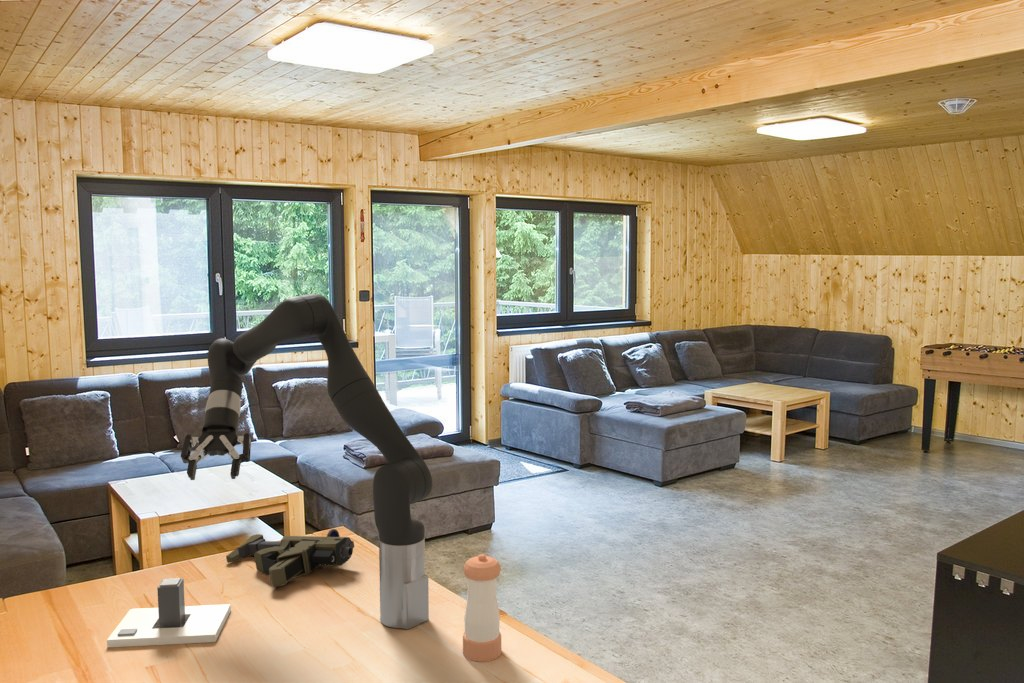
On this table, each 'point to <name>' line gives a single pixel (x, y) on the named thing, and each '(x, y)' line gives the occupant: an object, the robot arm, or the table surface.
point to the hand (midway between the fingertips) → (212, 477)
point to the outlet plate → (144, 631)
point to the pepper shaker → (482, 610)
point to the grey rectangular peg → (171, 603)
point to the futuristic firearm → (294, 554)
